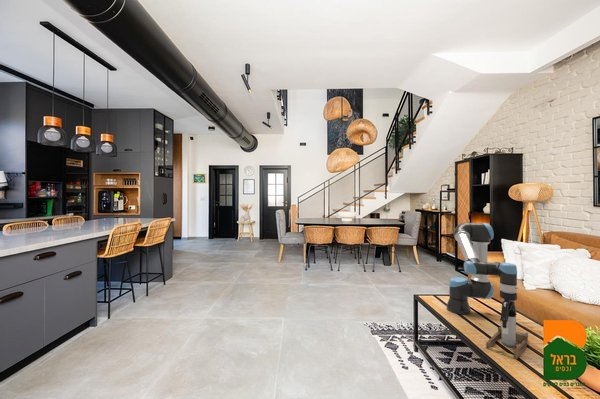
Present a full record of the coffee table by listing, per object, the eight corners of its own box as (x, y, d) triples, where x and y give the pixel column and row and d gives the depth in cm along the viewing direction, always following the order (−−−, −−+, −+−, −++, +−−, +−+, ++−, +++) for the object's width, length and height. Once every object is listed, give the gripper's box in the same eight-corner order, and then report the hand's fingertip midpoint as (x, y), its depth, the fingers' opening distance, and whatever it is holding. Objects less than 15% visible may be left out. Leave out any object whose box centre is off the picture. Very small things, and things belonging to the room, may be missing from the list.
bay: (486, 348, 141) (486, 338, 141) (501, 332, 158) (501, 324, 158) (516, 359, 131) (516, 349, 131) (529, 341, 148) (529, 332, 148)
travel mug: (498, 341, 147) (498, 306, 147) (509, 341, 148) (508, 306, 148) (508, 348, 141) (507, 311, 141) (519, 347, 141) (519, 310, 142)
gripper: (510, 298, 134) (510, 339, 134) (522, 288, 149) (522, 325, 149) (493, 294, 140) (493, 333, 140) (506, 285, 155) (506, 321, 155)
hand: (508, 329), depth 144 cm, fingers open, 13 cm apart
